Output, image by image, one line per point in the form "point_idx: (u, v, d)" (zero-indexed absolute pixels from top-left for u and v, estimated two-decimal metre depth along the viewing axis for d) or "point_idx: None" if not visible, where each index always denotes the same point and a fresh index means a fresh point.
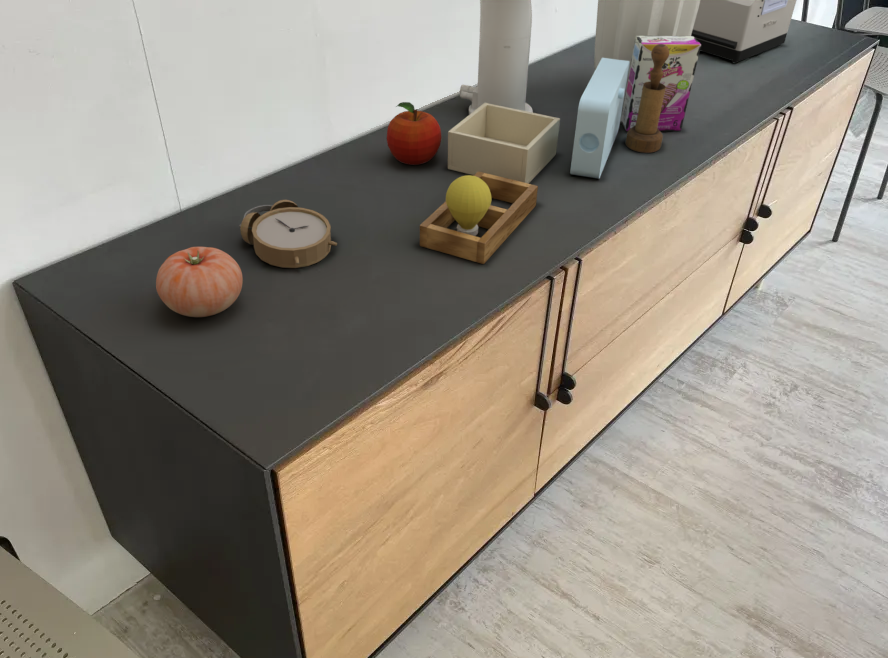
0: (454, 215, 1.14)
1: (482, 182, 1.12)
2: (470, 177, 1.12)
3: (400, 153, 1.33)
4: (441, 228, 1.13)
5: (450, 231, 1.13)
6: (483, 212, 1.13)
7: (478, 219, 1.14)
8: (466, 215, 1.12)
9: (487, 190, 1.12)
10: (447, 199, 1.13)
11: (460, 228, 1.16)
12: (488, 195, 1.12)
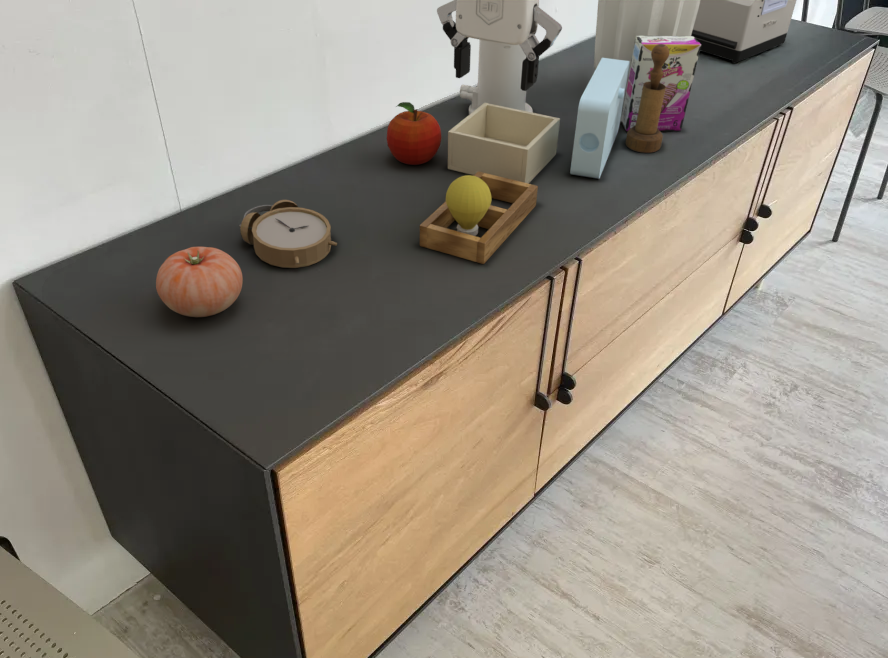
0: (454, 215, 1.14)
1: (482, 182, 1.12)
2: (470, 177, 1.12)
3: (400, 153, 1.33)
4: (441, 228, 1.13)
5: (450, 231, 1.13)
6: (483, 212, 1.13)
7: (478, 219, 1.14)
8: (466, 215, 1.12)
9: (487, 190, 1.12)
10: (447, 199, 1.13)
11: (460, 228, 1.16)
12: (488, 195, 1.12)
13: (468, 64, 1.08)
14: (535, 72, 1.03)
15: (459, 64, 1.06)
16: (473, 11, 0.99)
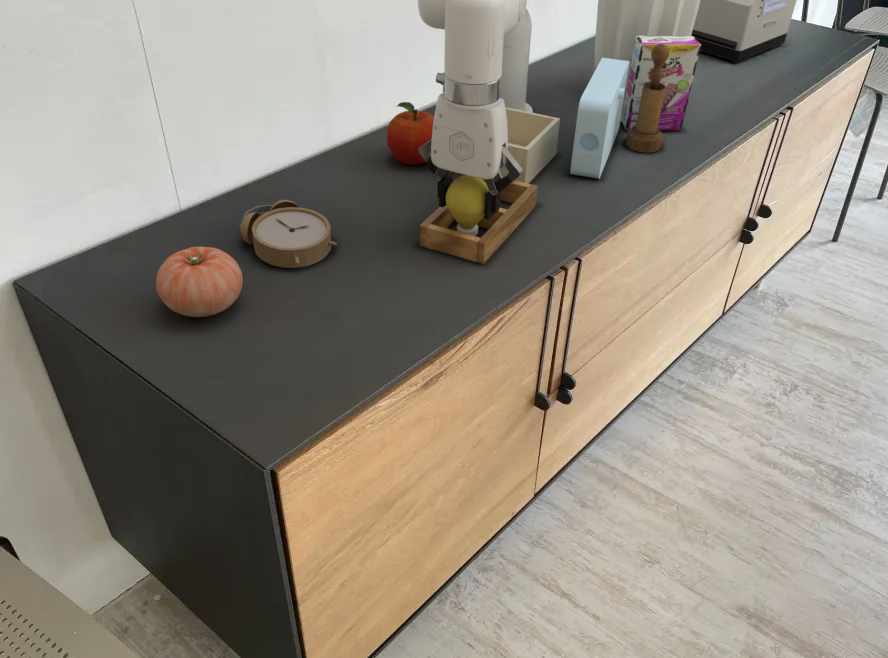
0: (454, 215, 1.14)
1: (482, 182, 1.12)
2: (470, 177, 1.12)
3: (400, 153, 1.33)
4: (441, 228, 1.13)
5: (450, 231, 1.13)
6: (483, 212, 1.13)
7: (478, 219, 1.14)
8: (466, 215, 1.12)
9: (487, 190, 1.12)
10: (447, 199, 1.13)
11: (460, 228, 1.16)
12: None
13: None
14: (497, 203, 1.12)
15: (442, 196, 1.14)
16: (446, 148, 1.07)
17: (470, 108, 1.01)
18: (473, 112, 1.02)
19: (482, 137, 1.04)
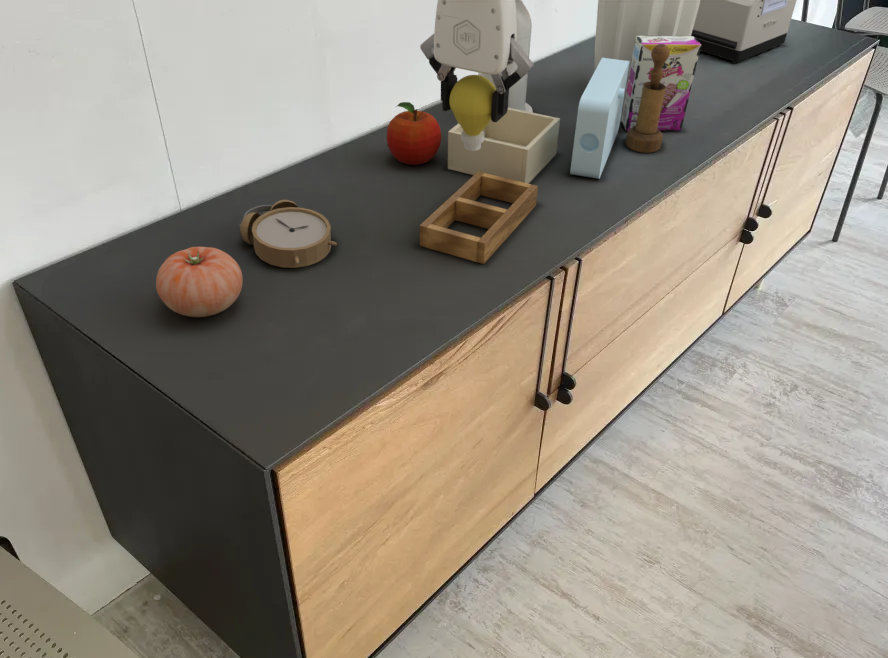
0: (458, 118, 1.06)
1: (488, 81, 1.04)
2: (476, 76, 1.04)
3: (400, 153, 1.33)
4: (441, 228, 1.13)
5: (450, 231, 1.13)
6: (490, 115, 1.05)
7: (484, 123, 1.06)
8: (471, 118, 1.04)
9: (494, 90, 1.04)
10: (451, 100, 1.05)
11: (465, 134, 1.08)
12: None
13: None
14: (505, 104, 1.04)
15: (446, 98, 1.06)
16: (450, 41, 0.99)
17: None
18: None
19: (489, 25, 0.96)
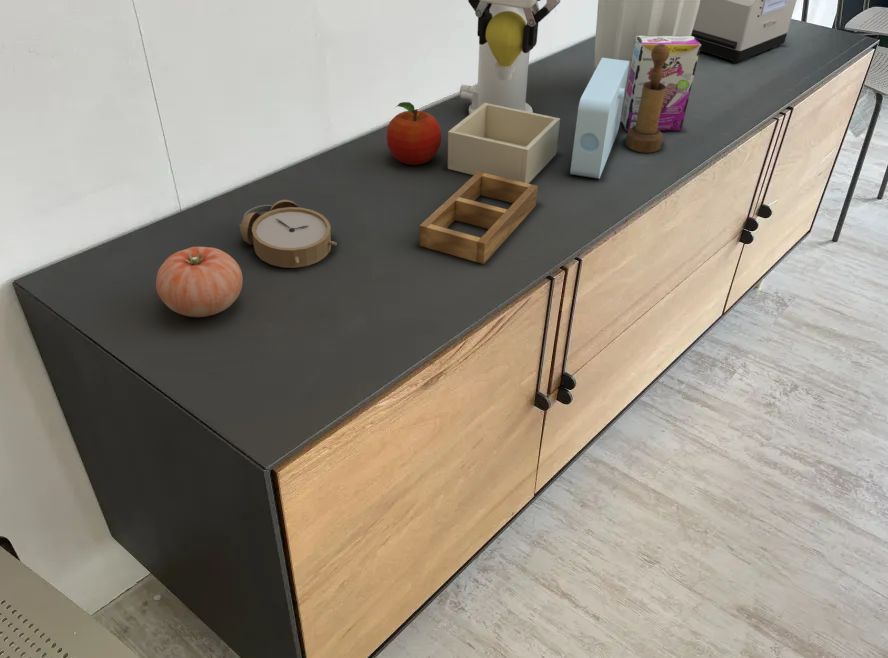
0: (493, 50, 1.21)
1: (520, 16, 1.19)
2: (509, 11, 1.19)
3: (400, 153, 1.33)
4: (441, 228, 1.13)
5: (450, 231, 1.13)
6: (521, 46, 1.20)
7: (516, 54, 1.21)
8: (505, 48, 1.20)
9: (525, 24, 1.19)
10: (487, 33, 1.20)
11: (498, 65, 1.24)
12: None
13: None
14: (535, 36, 1.19)
15: (482, 32, 1.21)
16: None
17: None
18: None
19: None
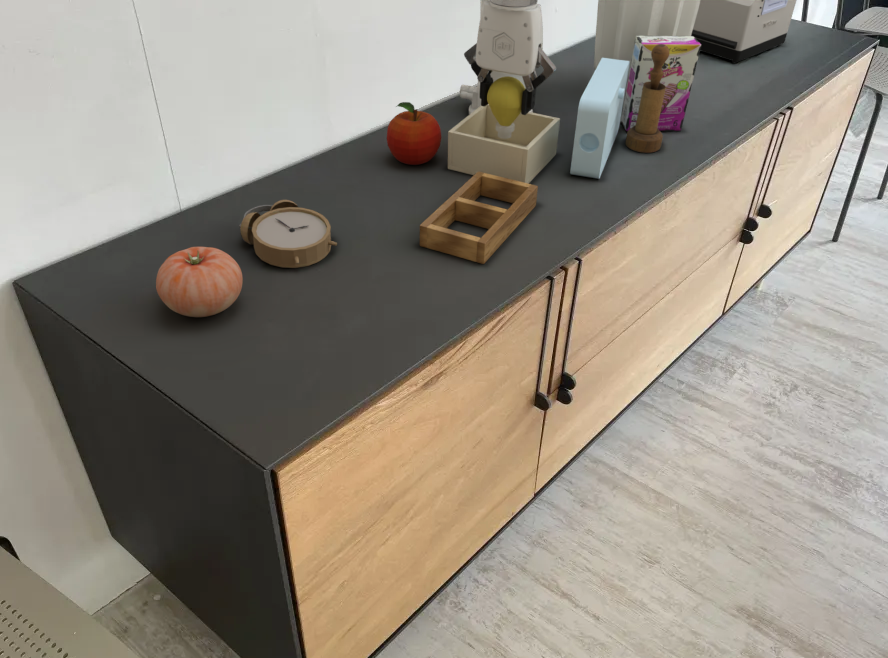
0: (494, 112, 1.31)
1: (519, 82, 1.29)
2: (509, 77, 1.29)
3: (400, 153, 1.33)
4: (441, 228, 1.13)
5: (450, 231, 1.13)
6: (520, 108, 1.30)
7: (515, 115, 1.31)
8: (505, 110, 1.29)
9: (524, 89, 1.29)
10: (488, 97, 1.30)
11: (499, 125, 1.33)
12: None
13: None
14: (533, 100, 1.29)
15: (484, 95, 1.31)
16: (490, 49, 1.24)
17: (513, 9, 1.18)
18: (514, 13, 1.19)
19: (522, 36, 1.21)
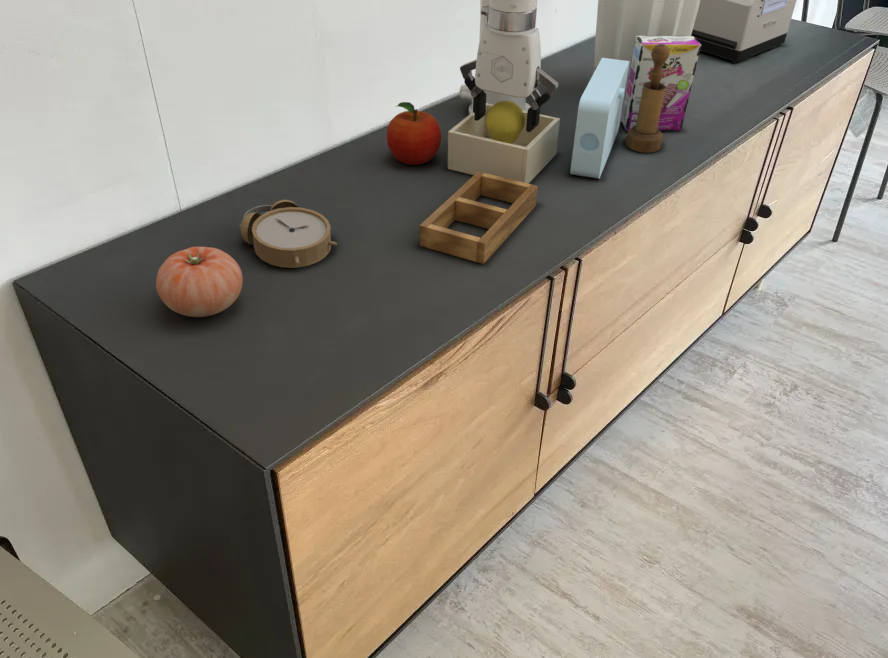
0: (493, 135, 1.33)
1: (517, 106, 1.32)
2: (507, 101, 1.31)
3: (400, 153, 1.33)
4: (441, 228, 1.13)
5: (450, 231, 1.13)
6: (518, 132, 1.32)
7: (513, 138, 1.33)
8: (504, 134, 1.32)
9: (522, 113, 1.32)
10: (487, 121, 1.32)
11: None
12: (522, 117, 1.32)
13: (484, 109, 1.35)
14: (537, 118, 1.30)
15: (477, 110, 1.33)
16: (489, 71, 1.27)
17: (511, 34, 1.21)
18: (513, 37, 1.22)
19: (520, 60, 1.23)
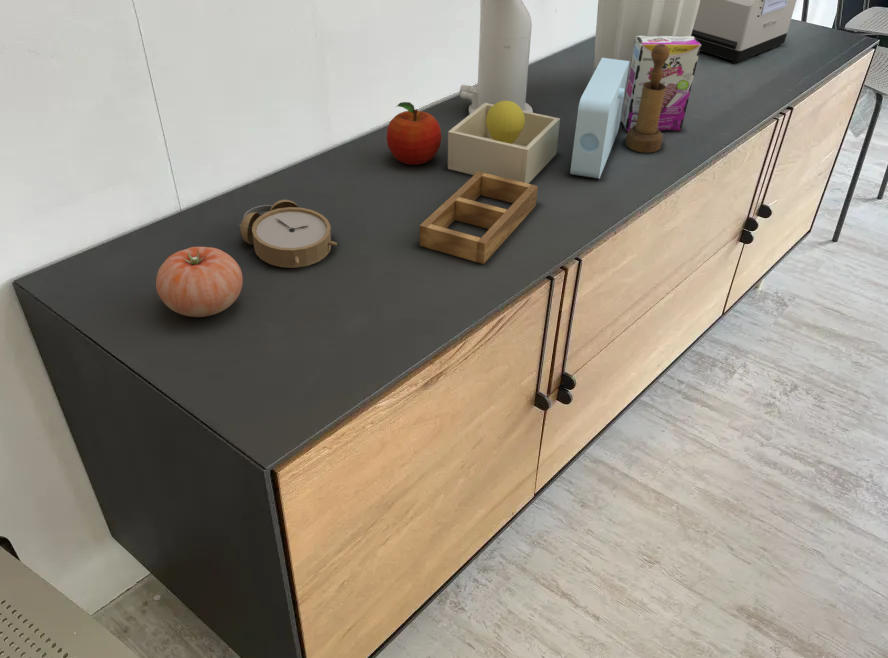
0: (493, 135, 1.33)
1: (517, 106, 1.32)
2: (507, 101, 1.31)
3: (400, 153, 1.33)
4: (441, 228, 1.13)
5: (450, 231, 1.13)
6: (518, 132, 1.32)
7: (513, 138, 1.33)
8: (504, 134, 1.32)
9: (522, 113, 1.32)
10: (487, 121, 1.32)
11: None
12: (522, 117, 1.32)
13: None
14: None
15: None
16: None
17: None
18: None
19: None
